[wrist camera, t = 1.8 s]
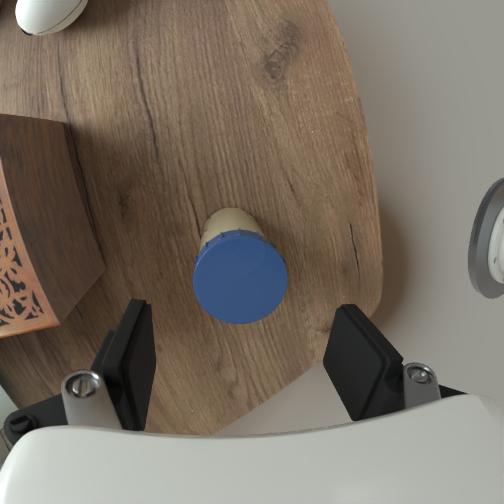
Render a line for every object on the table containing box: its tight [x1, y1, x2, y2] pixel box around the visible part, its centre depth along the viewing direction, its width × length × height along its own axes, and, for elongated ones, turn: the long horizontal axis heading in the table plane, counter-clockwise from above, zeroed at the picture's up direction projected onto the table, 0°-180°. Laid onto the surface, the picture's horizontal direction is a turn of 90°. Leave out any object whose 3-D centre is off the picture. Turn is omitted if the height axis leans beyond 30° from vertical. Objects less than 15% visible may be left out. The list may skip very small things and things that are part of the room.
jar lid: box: [192, 228, 288, 324], centre depth 17 cm, size 5×5×2 cm
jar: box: [199, 208, 267, 253], centre depth 21 cm, size 5×5×9 cm
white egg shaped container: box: [15, 0, 88, 38], centre depth 13 cm, size 10×7×7 cm
